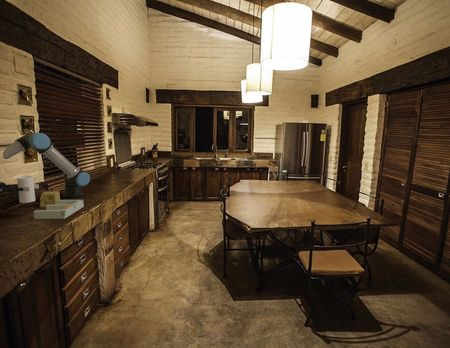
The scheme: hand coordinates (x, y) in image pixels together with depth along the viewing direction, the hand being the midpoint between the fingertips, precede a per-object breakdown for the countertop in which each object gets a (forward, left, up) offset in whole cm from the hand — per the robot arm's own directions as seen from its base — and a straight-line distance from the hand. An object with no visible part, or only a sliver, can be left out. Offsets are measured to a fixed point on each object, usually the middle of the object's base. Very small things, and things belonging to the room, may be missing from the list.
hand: (33, 187), depth 167 cm
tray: (-12, +7, -19) cm, 23 cm away
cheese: (-20, -17, -19) cm, 32 cm away
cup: (+2, -4, -9) cm, 10 cm away
